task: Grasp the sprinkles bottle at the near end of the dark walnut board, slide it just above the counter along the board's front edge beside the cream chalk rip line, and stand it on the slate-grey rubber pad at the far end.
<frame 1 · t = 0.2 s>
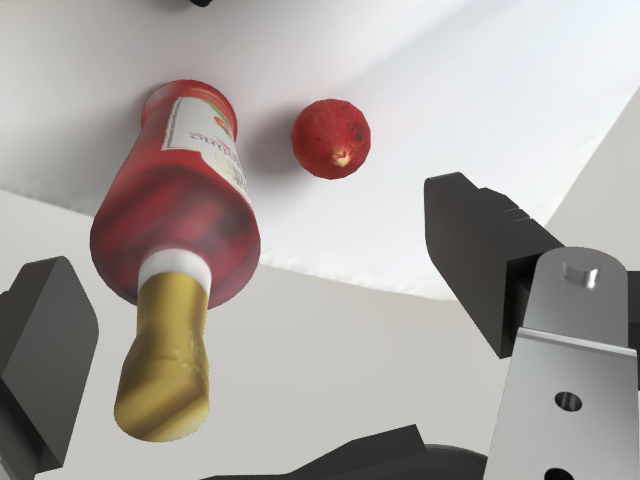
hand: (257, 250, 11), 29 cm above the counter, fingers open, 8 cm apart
onion: (321, 123, 41), on the counter
liquor: (190, 121, 39), on the counter
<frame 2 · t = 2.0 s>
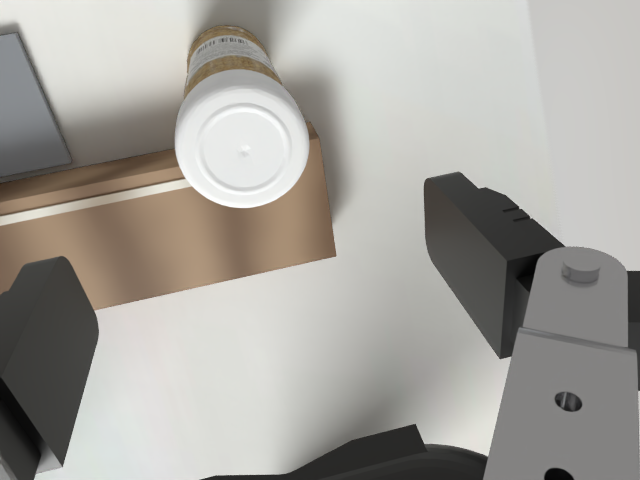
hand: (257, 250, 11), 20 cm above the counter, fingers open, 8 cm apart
walnut board: (133, 220, 32), on the counter
sprinkles bottle: (229, 66, 28), on the counter
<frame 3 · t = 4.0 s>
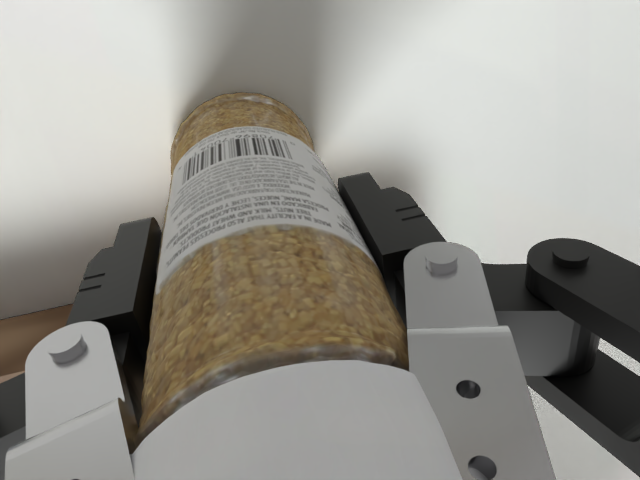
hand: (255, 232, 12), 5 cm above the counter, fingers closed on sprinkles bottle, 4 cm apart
walnut board: (88, 388, 20), on the counter
sprinkles bottle: (244, 156, 16), on the counter, touching gripper
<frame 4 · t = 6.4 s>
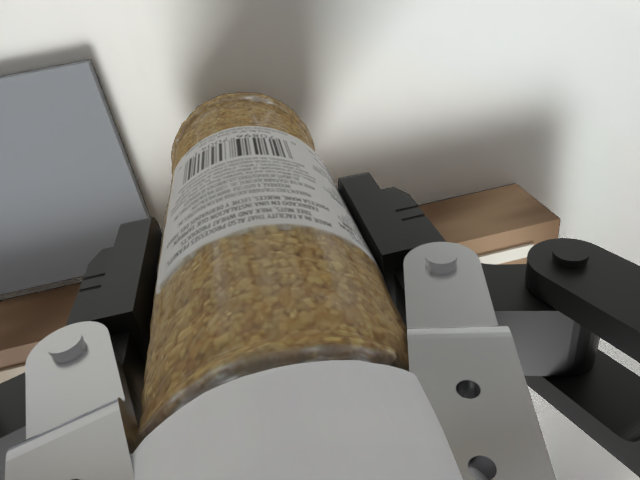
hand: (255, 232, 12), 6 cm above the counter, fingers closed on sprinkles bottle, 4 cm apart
walnut board: (243, 328, 21), on the counter
sprinkles bottle: (245, 156, 16), point 1 cm above the counter, touching gripper
grey pad: (8, 192, 17), on the counter
when the fingers open (6 cm above the counter, at t = 9.2 s): sprinkles bottle stays where it is, resting on grey pad.
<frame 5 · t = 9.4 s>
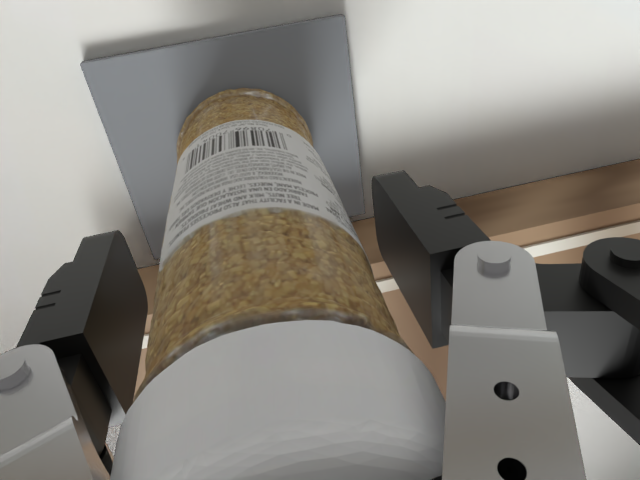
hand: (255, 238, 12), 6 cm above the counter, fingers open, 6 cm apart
walnut board: (416, 288, 22), on the counter
sprinkles bottle: (247, 149, 17), resting on grey pad
grey pad: (240, 144, 17), on the counter
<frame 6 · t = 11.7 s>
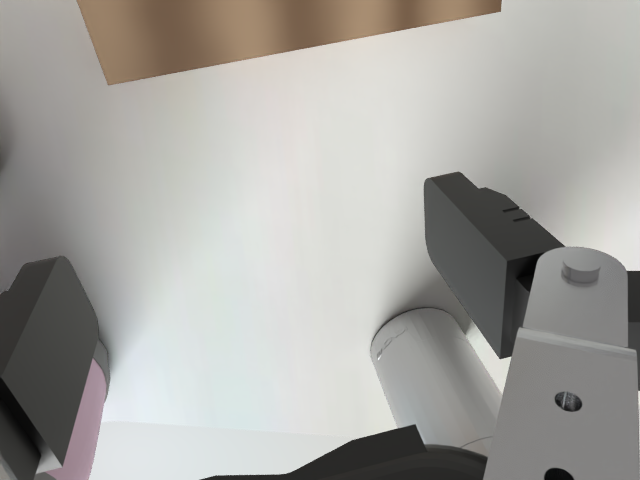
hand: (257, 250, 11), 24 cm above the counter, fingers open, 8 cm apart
blender: (13, 362, 42), on the counter
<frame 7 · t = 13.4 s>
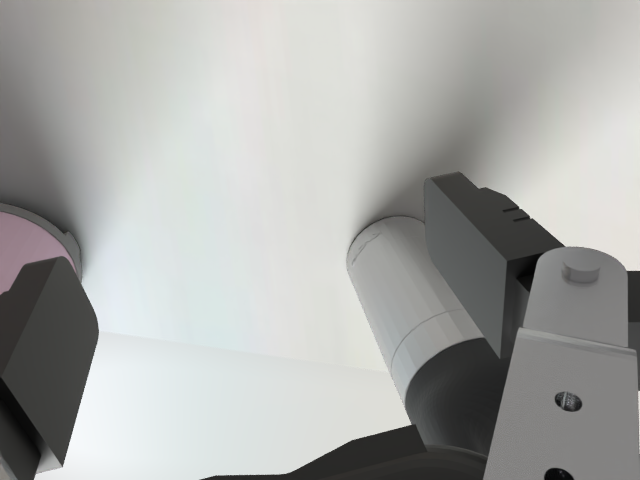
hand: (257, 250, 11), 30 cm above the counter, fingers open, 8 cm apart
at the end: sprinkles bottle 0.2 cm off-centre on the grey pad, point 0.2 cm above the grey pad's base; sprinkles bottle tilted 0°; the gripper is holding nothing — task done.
